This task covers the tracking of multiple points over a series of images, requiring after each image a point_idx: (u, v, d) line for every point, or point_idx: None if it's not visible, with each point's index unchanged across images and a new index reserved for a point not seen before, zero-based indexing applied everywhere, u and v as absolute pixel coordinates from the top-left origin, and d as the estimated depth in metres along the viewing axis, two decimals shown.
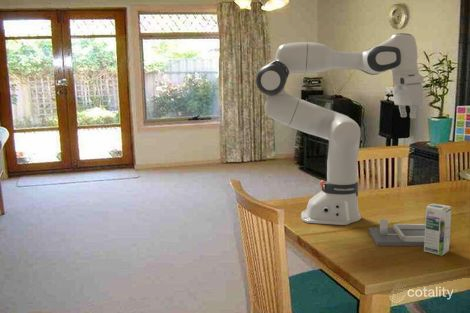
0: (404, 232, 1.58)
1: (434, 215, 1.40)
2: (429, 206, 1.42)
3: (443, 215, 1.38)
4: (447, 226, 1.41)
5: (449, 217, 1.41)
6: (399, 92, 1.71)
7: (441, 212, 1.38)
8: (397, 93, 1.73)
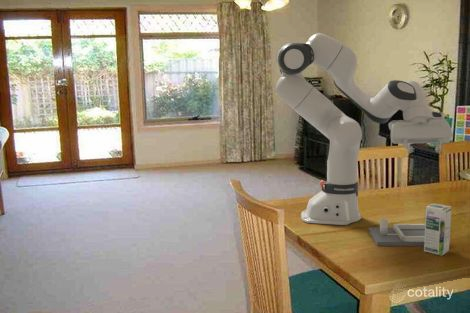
0: (404, 232, 1.58)
1: (434, 215, 1.40)
2: (429, 206, 1.42)
3: (443, 215, 1.38)
4: (447, 226, 1.41)
5: (449, 217, 1.41)
6: (410, 127, 1.64)
7: (441, 212, 1.38)
8: (404, 128, 1.64)
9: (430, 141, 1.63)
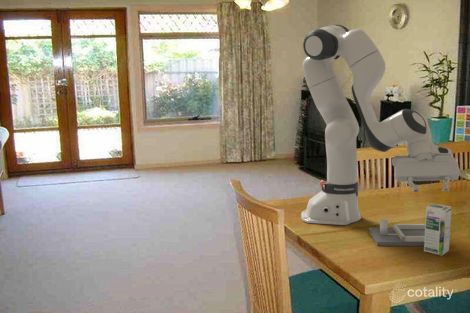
0: (404, 232, 1.58)
1: (434, 215, 1.40)
2: (429, 206, 1.42)
3: (443, 215, 1.38)
4: (447, 226, 1.41)
5: (449, 217, 1.41)
6: (415, 163, 1.54)
7: (441, 212, 1.38)
8: (409, 165, 1.54)
9: (436, 179, 1.53)
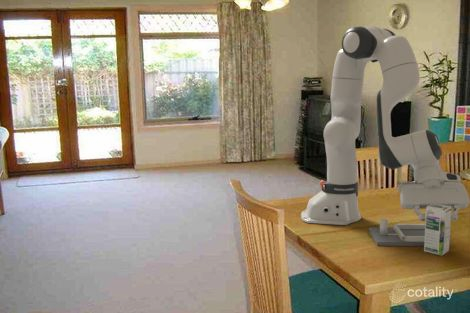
0: (404, 232, 1.58)
1: (434, 215, 1.40)
2: (429, 206, 1.42)
3: (443, 215, 1.38)
4: (447, 226, 1.41)
5: (449, 217, 1.41)
6: (422, 190, 1.47)
7: (441, 212, 1.38)
8: (415, 192, 1.47)
9: None
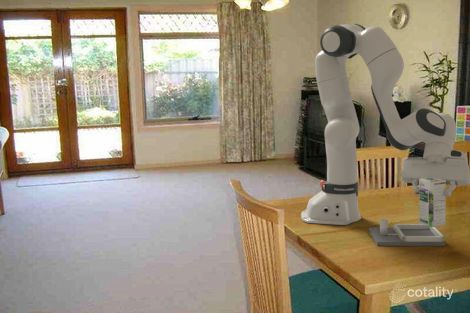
0: (404, 232, 1.58)
1: (424, 187, 1.45)
2: (422, 178, 1.46)
3: (430, 187, 1.42)
4: (439, 199, 1.43)
5: (442, 190, 1.43)
6: (423, 165, 1.51)
7: (429, 184, 1.43)
8: (416, 166, 1.51)
9: None
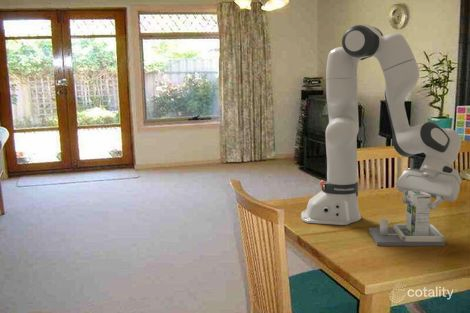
0: (404, 232, 1.58)
1: (410, 199, 1.53)
2: (410, 191, 1.55)
3: (413, 199, 1.51)
4: (422, 212, 1.51)
5: (426, 204, 1.51)
6: (417, 177, 1.58)
7: (412, 197, 1.51)
8: (411, 178, 1.59)
9: (433, 196, 1.53)
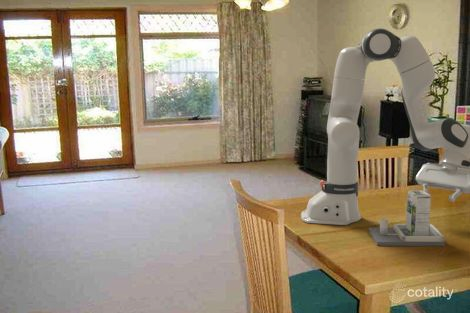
0: (404, 232, 1.58)
1: (410, 199, 1.53)
2: (410, 191, 1.55)
3: (413, 199, 1.51)
4: (422, 212, 1.51)
5: (426, 204, 1.51)
6: (437, 171, 1.66)
7: (412, 197, 1.51)
8: (430, 171, 1.67)
9: (453, 189, 1.61)
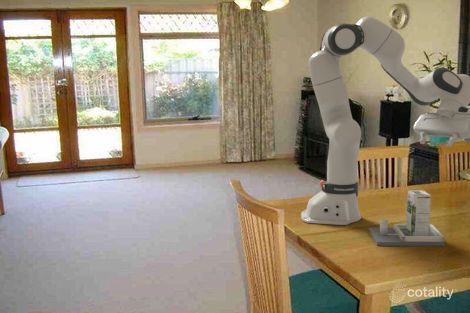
0: (404, 232, 1.58)
1: (410, 199, 1.53)
2: (410, 191, 1.55)
3: (413, 199, 1.51)
4: (422, 212, 1.51)
5: (426, 204, 1.51)
6: (434, 119, 1.67)
7: (412, 197, 1.51)
8: (428, 120, 1.69)
9: (450, 135, 1.62)
